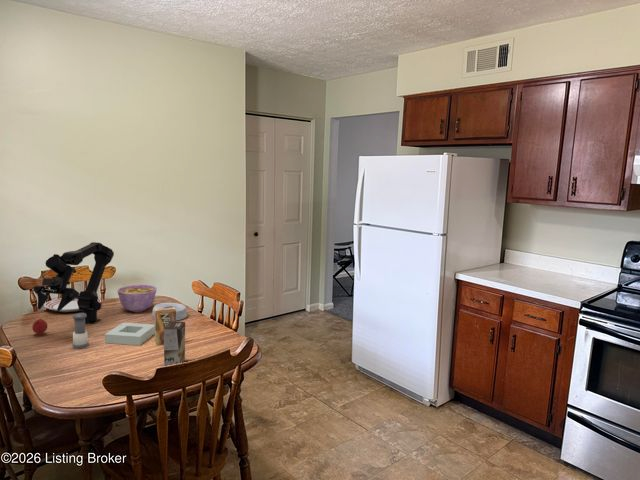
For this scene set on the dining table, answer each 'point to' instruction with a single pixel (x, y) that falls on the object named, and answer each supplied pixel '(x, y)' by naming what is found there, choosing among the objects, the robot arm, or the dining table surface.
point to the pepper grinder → (80, 331)
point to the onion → (39, 326)
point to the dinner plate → (68, 308)
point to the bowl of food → (137, 297)
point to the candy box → (163, 322)
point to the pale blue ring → (180, 308)
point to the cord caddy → (130, 334)
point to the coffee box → (174, 343)
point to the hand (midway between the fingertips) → (48, 310)
